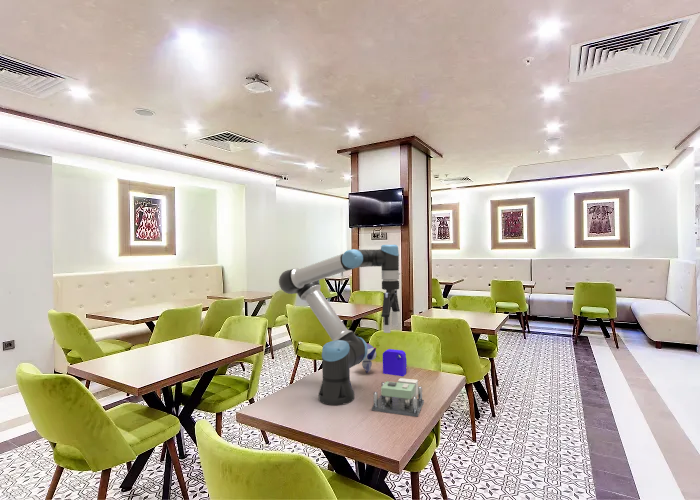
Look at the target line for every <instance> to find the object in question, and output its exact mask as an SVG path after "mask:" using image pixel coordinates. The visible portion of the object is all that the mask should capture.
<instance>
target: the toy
mask: <svg viewBox="0 0 700 500" xmlns="http://www.w3.org/2000/svg"><path fill="white" fill-rule="evenodd" d="M366 344H367V348H368V351H367V356H366V358H365V359H364V360H363V361H362V362H361V366H362V368H363V370H365V373H366V374H368V373H369V372H370V371H371V370H372V364H373V362H372V361H373V360H375V359H376V357H377V351H376V350H377V347H374V346H373V345H372V344H370V343H366Z"/></svg>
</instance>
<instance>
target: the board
mask: <svg viewBox="0 0 700 500" xmlns="http://www.w3.org/2000/svg"><path fill="white" fill-rule="evenodd" d="M414 393H415V384H407V383H398V381H397V382H395V381H385V384H384V385H383V386H382V387H380V394H381V395H382V396H390V397H398V398H406V399H412V398H413V395H414ZM381 395H380V396H381Z"/></svg>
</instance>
